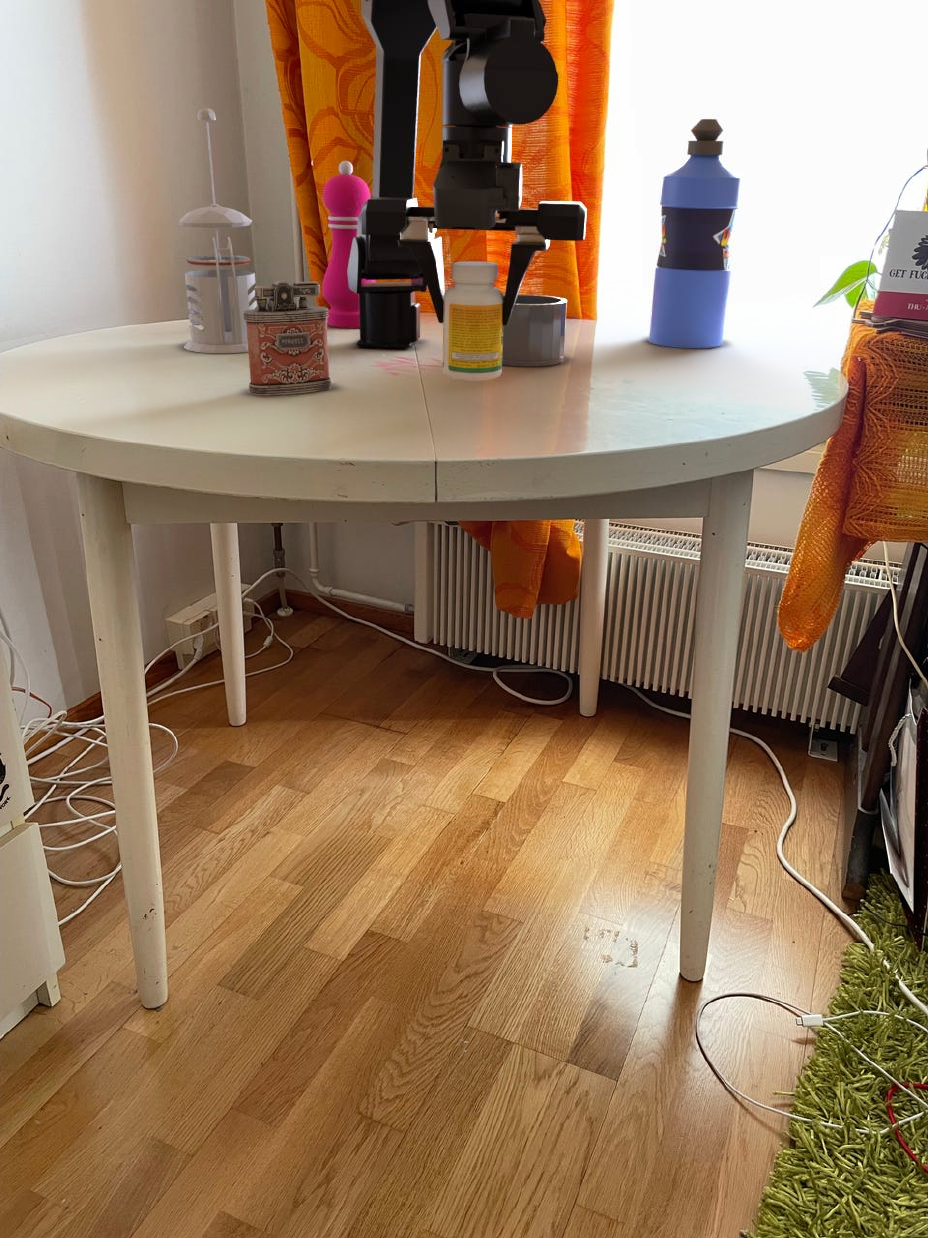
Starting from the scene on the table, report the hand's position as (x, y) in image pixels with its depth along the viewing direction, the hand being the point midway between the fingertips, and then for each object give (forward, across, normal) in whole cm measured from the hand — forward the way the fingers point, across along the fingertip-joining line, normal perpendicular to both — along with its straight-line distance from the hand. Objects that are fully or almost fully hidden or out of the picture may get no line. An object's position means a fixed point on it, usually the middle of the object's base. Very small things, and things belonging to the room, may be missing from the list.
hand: (473, 323), depth 88 cm
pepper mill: (+8, -22, +44) cm, 50 cm away
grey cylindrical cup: (+7, +3, +24) cm, 25 cm away
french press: (+8, -32, +24) cm, 41 cm away
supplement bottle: (+5, 0, 0) cm, 5 cm away
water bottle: (+8, +22, +40) cm, 46 cm away
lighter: (+8, -18, +3) cm, 20 cm away
